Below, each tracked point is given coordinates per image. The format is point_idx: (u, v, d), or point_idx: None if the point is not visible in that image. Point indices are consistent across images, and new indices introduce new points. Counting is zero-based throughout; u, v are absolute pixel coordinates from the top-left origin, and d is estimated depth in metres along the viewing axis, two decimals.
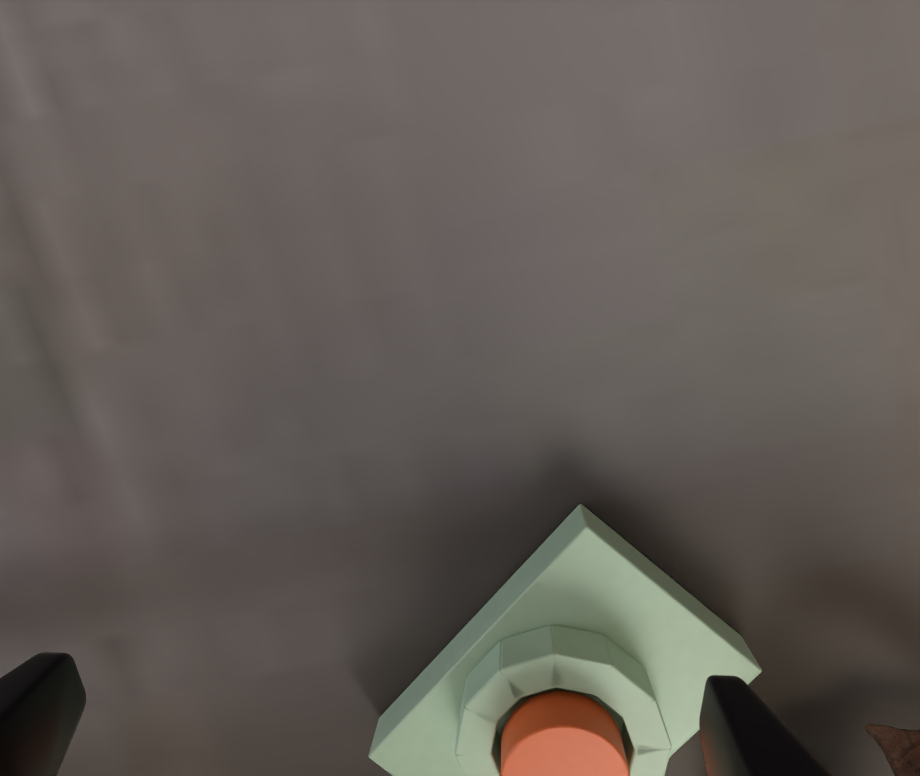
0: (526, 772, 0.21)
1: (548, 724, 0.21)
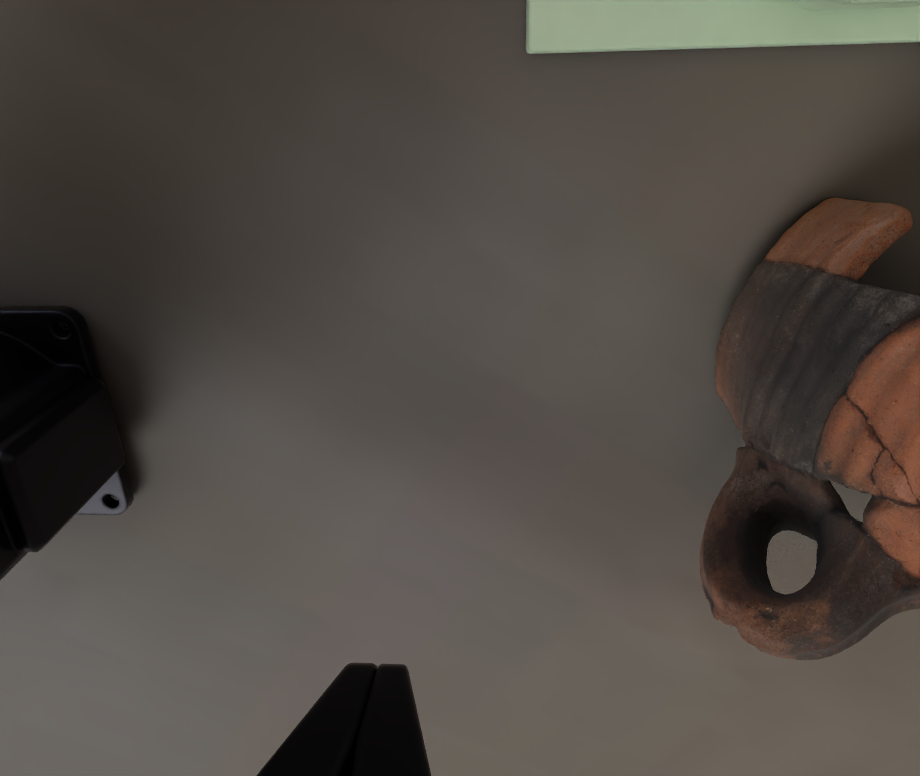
0: None
1: None
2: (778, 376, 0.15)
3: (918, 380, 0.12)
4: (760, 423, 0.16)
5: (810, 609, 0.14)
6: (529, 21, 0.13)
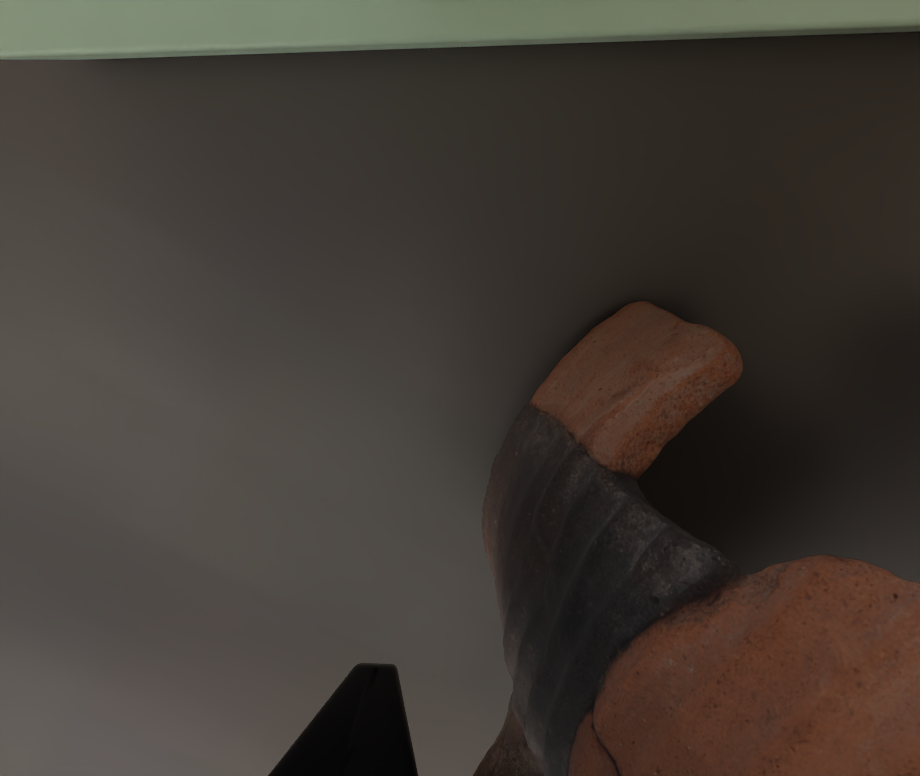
0: None
1: None
2: (528, 620, 0.09)
3: (695, 742, 0.06)
4: (514, 685, 0.09)
5: None
6: None
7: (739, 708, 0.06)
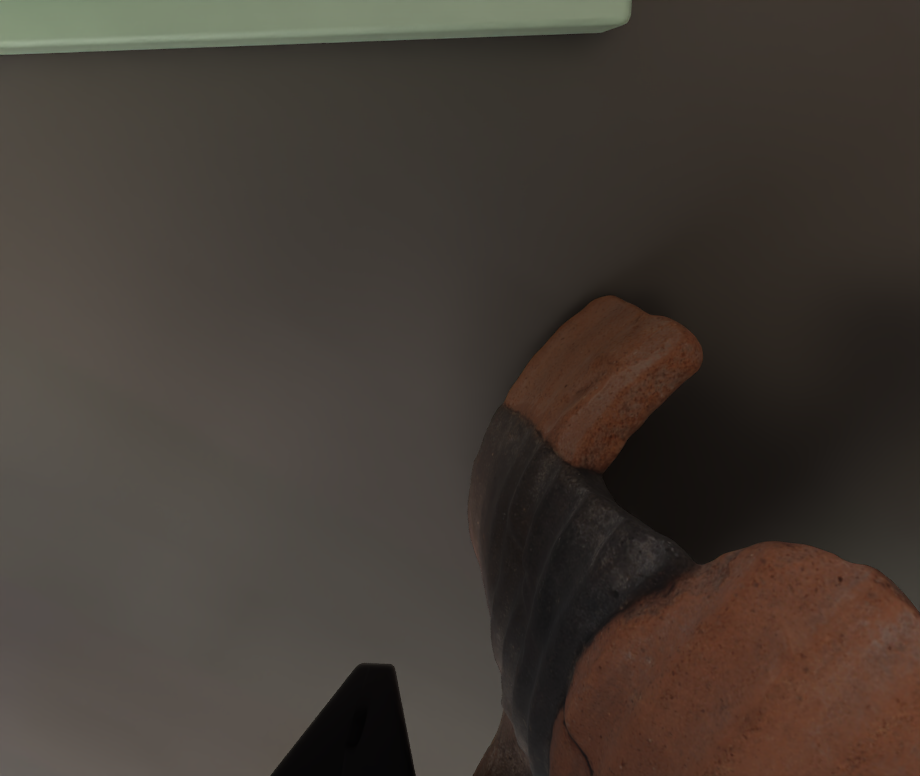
0: None
1: None
2: (509, 619, 0.09)
3: (655, 734, 0.06)
4: (502, 683, 0.09)
5: None
6: None
7: (694, 698, 0.06)
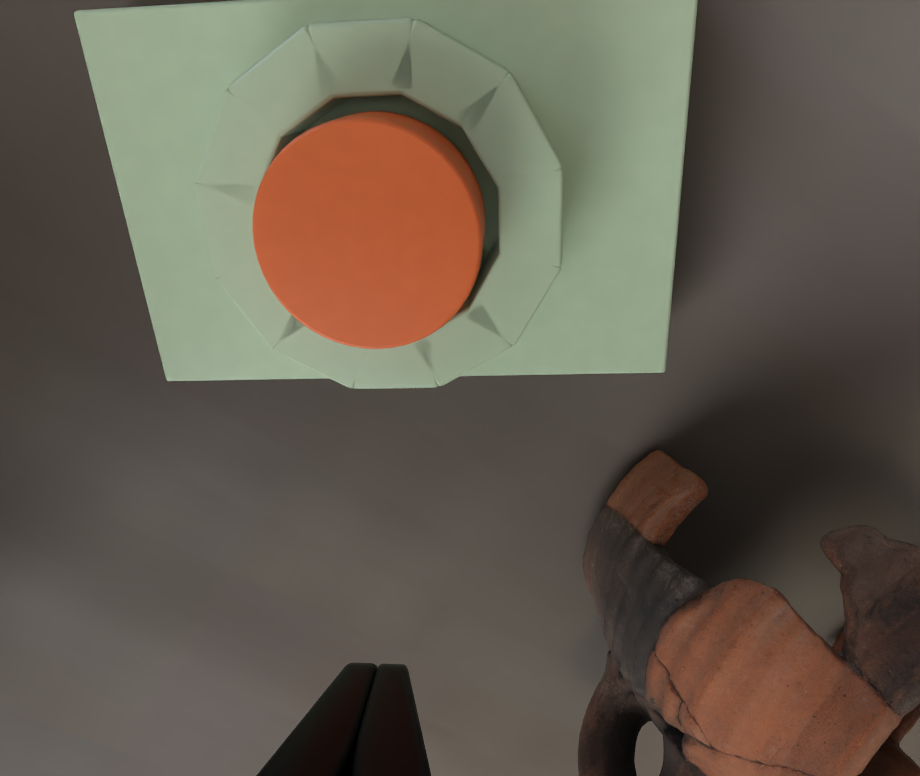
0: (326, 177, 0.11)
1: (424, 138, 0.11)
2: (618, 613, 0.18)
3: (697, 654, 0.16)
4: (612, 646, 0.19)
5: None
6: (162, 361, 0.17)
7: (711, 638, 0.15)
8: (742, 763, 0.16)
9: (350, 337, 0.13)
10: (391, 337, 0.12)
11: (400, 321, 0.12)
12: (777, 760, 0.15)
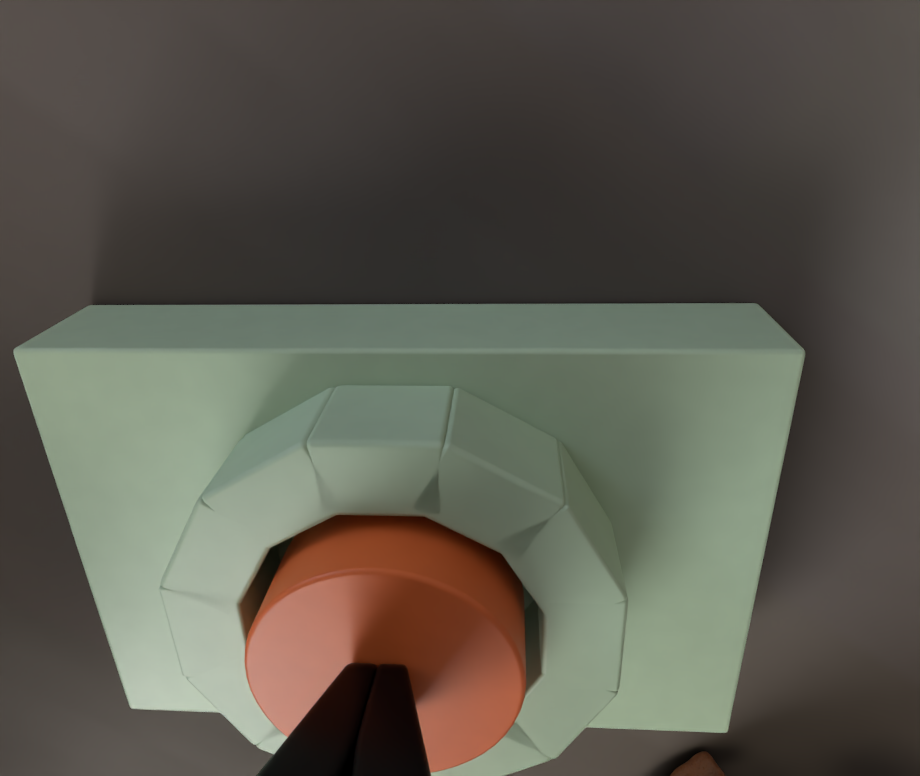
0: (337, 620, 0.09)
1: (459, 586, 0.09)
2: None
3: None
4: None
5: None
6: None
7: None
8: None
9: None
10: None
11: None
12: None
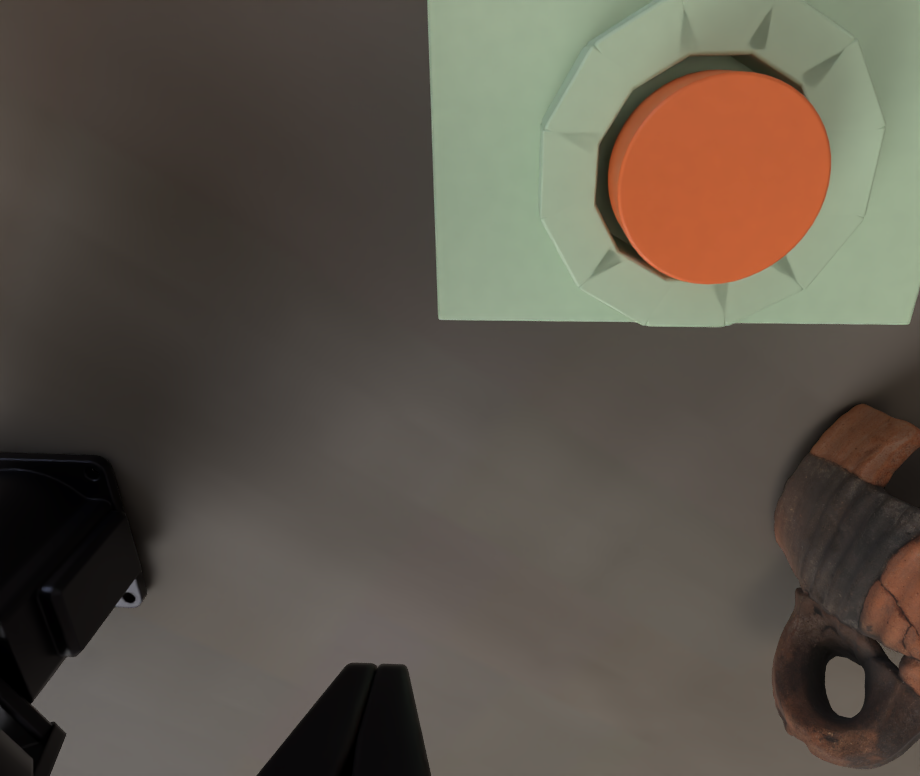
0: (700, 124, 0.13)
1: None
2: (827, 551, 0.20)
3: None
4: (815, 583, 0.20)
5: (862, 736, 0.19)
6: (438, 301, 0.18)
7: None
8: None
9: (686, 272, 0.14)
10: (724, 273, 0.14)
11: (736, 259, 0.14)
12: None
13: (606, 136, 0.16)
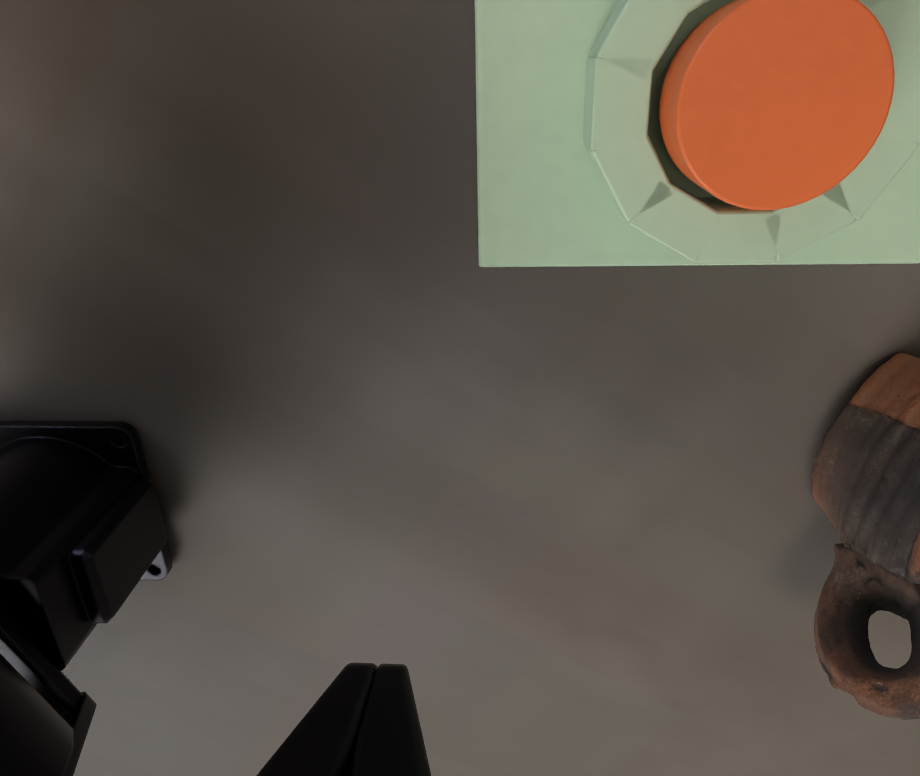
0: (762, 40, 0.13)
1: (859, 5, 0.12)
2: (871, 500, 0.20)
3: None
4: (858, 533, 0.20)
5: (913, 684, 0.18)
6: (479, 247, 0.18)
7: None
8: None
9: (745, 197, 0.14)
10: (783, 198, 0.14)
11: (795, 182, 0.14)
12: None
13: (653, 71, 0.16)
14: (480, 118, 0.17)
